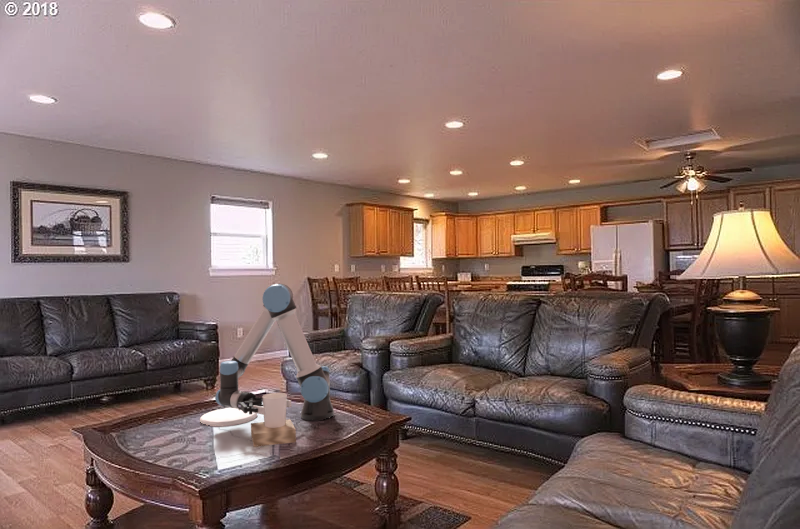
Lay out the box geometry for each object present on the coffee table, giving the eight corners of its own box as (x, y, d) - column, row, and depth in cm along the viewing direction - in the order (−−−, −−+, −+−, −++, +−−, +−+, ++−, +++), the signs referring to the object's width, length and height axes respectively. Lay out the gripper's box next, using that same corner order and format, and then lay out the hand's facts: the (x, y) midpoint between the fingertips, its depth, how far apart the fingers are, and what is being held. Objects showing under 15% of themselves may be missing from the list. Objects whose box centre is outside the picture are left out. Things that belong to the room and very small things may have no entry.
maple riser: (290, 431, 230) (290, 419, 230) (295, 442, 215) (295, 429, 215) (251, 435, 225) (250, 423, 225) (253, 447, 210) (253, 433, 210)
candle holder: (281, 429, 216) (281, 398, 216) (258, 428, 218) (257, 397, 218) (291, 422, 225) (290, 393, 226) (269, 421, 227) (268, 392, 228)
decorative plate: (231, 401, 270) (267, 407, 257) (231, 410, 270) (267, 416, 257) (187, 413, 249) (225, 420, 236) (188, 422, 249) (225, 430, 236)
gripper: (267, 403, 241) (301, 410, 228) (218, 416, 221) (252, 424, 208) (266, 386, 241) (300, 392, 229) (218, 397, 221) (252, 404, 208)
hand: (278, 407), depth 218 cm, fingers open, 13 cm apart
